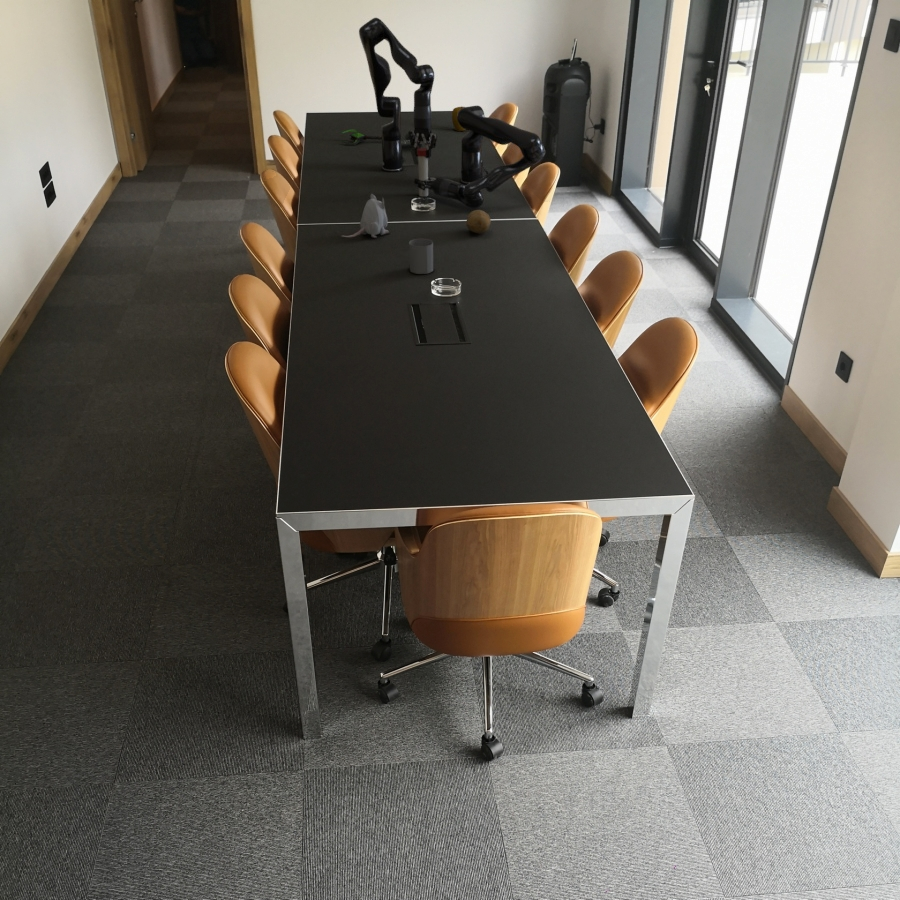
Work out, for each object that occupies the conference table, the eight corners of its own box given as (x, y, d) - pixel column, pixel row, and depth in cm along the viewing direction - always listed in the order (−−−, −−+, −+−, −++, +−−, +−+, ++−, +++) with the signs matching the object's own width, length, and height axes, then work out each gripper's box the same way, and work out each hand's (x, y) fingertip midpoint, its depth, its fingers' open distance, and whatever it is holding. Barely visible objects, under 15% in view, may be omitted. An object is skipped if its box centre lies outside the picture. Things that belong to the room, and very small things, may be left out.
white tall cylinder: (430, 194, 386) (429, 150, 376) (425, 197, 383) (425, 152, 373) (421, 193, 388) (420, 149, 377) (417, 195, 384) (416, 151, 374)
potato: (488, 225, 349) (488, 206, 345) (492, 237, 337) (492, 217, 333) (464, 226, 348) (464, 206, 344) (467, 238, 337) (467, 217, 332)
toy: (394, 233, 341) (393, 195, 333) (349, 248, 327) (347, 208, 319) (379, 228, 347) (377, 190, 338) (334, 242, 332) (331, 203, 324)
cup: (409, 265, 311) (408, 238, 306) (432, 265, 312) (431, 238, 307) (410, 274, 304) (409, 246, 299) (433, 273, 305) (433, 246, 299)
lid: (419, 152, 379) (419, 147, 377) (430, 153, 377) (430, 148, 376) (415, 155, 375) (415, 150, 373) (426, 156, 373) (426, 151, 372)
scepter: (396, 126, 467) (340, 124, 465) (396, 141, 460) (339, 139, 458) (396, 135, 472) (341, 133, 470) (396, 151, 465) (340, 148, 463)
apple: (471, 132, 486) (471, 108, 479) (451, 132, 486) (451, 108, 479) (470, 128, 495) (471, 104, 488) (452, 128, 495) (452, 104, 488)
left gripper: (403, 115, 368) (404, 156, 377) (431, 119, 361) (431, 161, 371) (413, 112, 373) (414, 153, 382) (441, 116, 367) (441, 157, 376)
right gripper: (434, 199, 371) (407, 191, 382) (457, 193, 380) (430, 185, 390) (433, 182, 367) (406, 174, 377) (457, 175, 376) (430, 168, 386)
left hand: (423, 157), depth 376 cm, fingers closed on lid, 5 cm apart
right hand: (419, 179), depth 384 cm, fingers closed on white tall cylinder, 4 cm apart
